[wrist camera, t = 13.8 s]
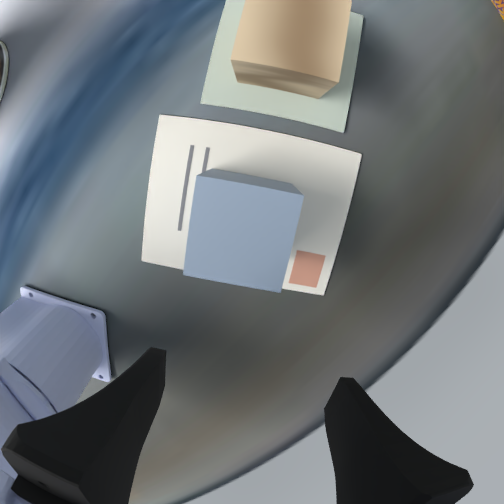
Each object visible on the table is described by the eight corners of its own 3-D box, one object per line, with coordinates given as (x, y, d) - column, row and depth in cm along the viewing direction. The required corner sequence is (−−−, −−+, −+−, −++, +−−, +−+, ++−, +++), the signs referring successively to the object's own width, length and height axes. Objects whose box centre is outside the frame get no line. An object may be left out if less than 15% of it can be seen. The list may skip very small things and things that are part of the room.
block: (237, 82, 16) (230, 59, 11) (253, 16, 14) (251, -22, 10) (317, 99, 16) (338, 82, 12) (330, 32, 15) (351, 0, 10)
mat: (200, 104, 17) (200, 103, 17) (230, -12, 14) (230, -13, 14) (342, 133, 17) (343, 132, 17) (362, 16, 14) (363, 15, 14)
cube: (199, 244, 20) (182, 274, 15) (211, 168, 18) (196, 175, 13) (274, 258, 20) (280, 292, 15) (291, 183, 18) (304, 195, 14)
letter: (142, 260, 20) (141, 261, 20) (160, 114, 17) (159, 114, 17) (323, 294, 21) (323, 295, 21) (361, 154, 18) (361, 154, 17)
